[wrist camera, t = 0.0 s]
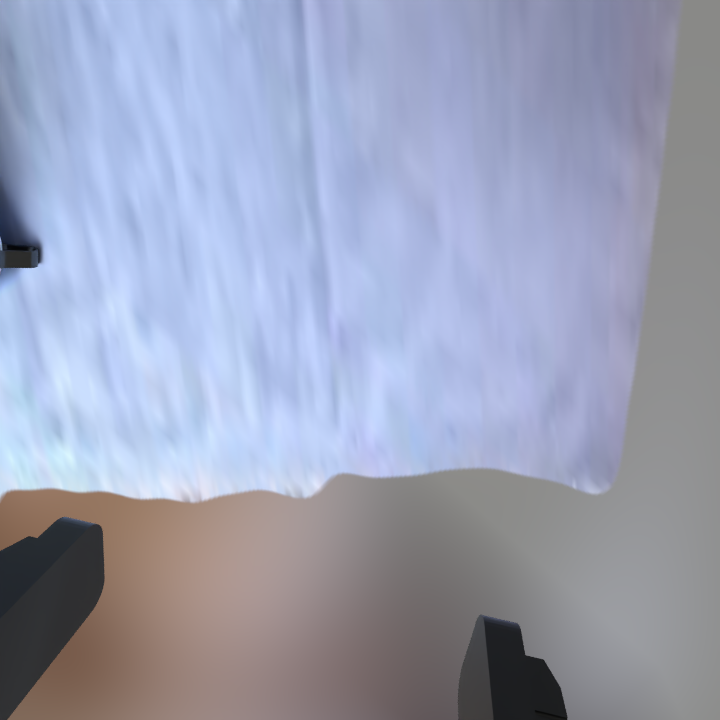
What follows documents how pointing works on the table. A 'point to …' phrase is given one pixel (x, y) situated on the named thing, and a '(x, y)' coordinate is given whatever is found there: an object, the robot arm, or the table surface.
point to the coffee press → (18, 256)
